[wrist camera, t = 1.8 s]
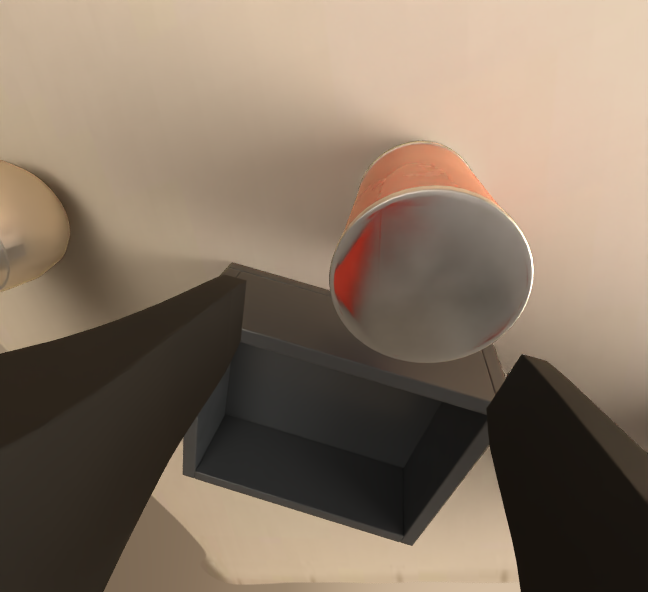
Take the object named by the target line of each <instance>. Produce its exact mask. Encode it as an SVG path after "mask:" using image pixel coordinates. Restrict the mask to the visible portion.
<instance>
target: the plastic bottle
mask: <svg viewBox="0 0 648 592" xmlns="http://www.w3.org/2000/svg"><path fill="white" fill-rule="evenodd" d="M69 237H70V225H69V220H68V217H67V214H66V212H65V209H64V208H63V206H62V204H61V202H60V201H59V199H58V198H57V197H56V195H55V194H54V193H53V191H52V190H51V189H50V188H49V187H48V186H47V185H46V184H45V183H44V182H43V181H41V180H40V179H39V178H38V177H36V176H35V175H33V174H32V173H30V172H28V171H27V170H25V169H22V168H20V167H18V166H15V165H13V164H10V163H8V162H5V161H3V160H0V292H2V291H5V290H8V289H11V288H14V287H16V286H19V285H21V284H24V283H26V282H29V281H32V280H34V279H36V278H39V277H40V276H41V275H43V274H44V273H45V272H46V271H48V270H49V269H50V268H51V267H52V266H54V265H55V264H56V263H57V262H58V261H59V260H61V259H62V257H63V256H64V254H65V252H66V249H67V245H68V241H69Z"/></svg>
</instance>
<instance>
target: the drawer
mask: <svg viewBox="0 0 648 592" xmlns="http://www.w3.org/2000/svg"><path fill="white" fill-rule="evenodd" d="M224 274H225V275H228V276H232V277H236V278H240V279H243V280H247V281H246V292H245V302H244V312H243V323H242V333H241V341H240V343H239V346H238V348H237V350H236V352H235V354H234V356H233V358H232V360H231V362H230V364H229V366H228V368H227V370H226V372H225V374H224V376H223V377H222V379H221V380H220V382H219V383H218V385H217V386H216V388H215V390H214V391H213V393H212V394H211V396H210V397H209V399H208V400H207V402H206V403H205V405H204V406H203V408H202V409H201V411H200V413H199V414H198V416H197V417H196V419H195V420H194V422H193V423H192V425H191V426H190V428H189V429H188V431H187V432H186V434H185V435H184V438H183V475H185V476H189V477H192V478H195V479H198V480H201V481H204V482H207V483H211V484H214V485H217V486H220V487H223V488H227V489H230V490H233V491H236V492H239V493H243V494H246V495H249V496H252V497H256V498H259V499H262V500H265V501H268V502H272V503H275V504H278V505H281V506H284V507H288V508H291V509H294V510H297V511H301V512H304V513H307V514H310V515H313V516H317V517H320V518H323V519H326V520H330V521H333V522H336V523H339V524H342V525H346V526H349V527H352V528H355V529H358V530H362V531H365V532H368V533H371V534H375V535H378V536H381V537H384V538H387V539H391V540H394V541H397V542H401V543H404V544H407V545H411V546H413V544H414V543H415V542H416V540H417V539H418V538H419V536H420V535H421V534H422V533H423V531H424V530H425V529H426V527H427V526H428V525H429V523H430V522H431V521H432V519H433V518H434V517H435V516H436V514H437V513H438V512H439V510H440V509H441V508H442V506H443V505H444V504H445V503H446V501H447V500H448V499H449V497H450V496H451V495H452V493H453V492H454V491H455V489H456V488H457V487H458V486H459V484H460V483H461V482H462V480H463V479H464V478H465V476H466V475H467V474H468V473H469V471H470V470H471V469H472V467H473V466H474V465H475V463H476V462H477V461H478V459H479V458H480V457H481V456H482V454H483V453H484V452H485V450H486V449H487V448H488V446H489V445H490V444H489V436H488V425H487V412H486V408H487V407H488V405H489V404H490V402H491V401H492V399H493V398H494V396H495V395H496V393H497V392H498V390H499V388H500V387H501V385H502V384H503V382H504V381H505V376H504V373H503V370H502V367H501V365H500V362H499V359H498V356H497V353H496V350H495V348H494V345H493V343H492V344H490V345H489V346H487V347H485V348H484V349H482V350H480V351H478V352H476V353H473V354H471V355H468V356H465V357H462V358H459V359H455V360H451V361H444V362H436V363H416V362H409V361H403V360H399V359H395V358H392V357H389V356H386V355H383V354H381V353H379V352H377V351H375V350H373V349H371V348H370V347H368V346H366V345H365V344H363V343H362V342H361V341H360V340H358V339H357V338H356V337H355V336H354V335H353V334H352V333H351V332H350V331H349V330H348V329H347V327H346V326H345V325H344V324H343V322H342V321H341V319H340V317H339V315H338V314H337V312H336V309H335V307H334V304H333V301H332V298H331V294H330V291H329V290H326V289H322V288H319V287H315V286H312V285H308V284H305V283H301V282H298V281H295V280H291V279H288V278H284V277H281V276H277V275H274V274H270V273H267V272H263V271H260V270H256V269H253V268H250V267H246V266H243V265H239V264H236V263H231V264H230V265H229V266H228V268H226V269H225V270H224V272H223V273H222V274H221V275H224ZM221 275H220V276H221Z"/></svg>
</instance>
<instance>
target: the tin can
mask: <svg viewBox="0 0 648 592" xmlns="http://www.w3.org/2000/svg"><path fill="white" fill-rule="evenodd" d="M532 283H533V260H532V255H531V251H530V248H529V245H528V242H527V240H526V238H525V236H524V234H523V233H522V231H521V230H520V228H519V227H518V226H517V224H516V223H515V222H514V220H513V219H512V218H511V217H510V216H509V215H508V214H507V213H506V212H505V211H504V210H503V209H502V208H501V207H499V205H498V204H497V203H496V202H495V200H494V199H493V198H492V196H491V195H490V194H489V193H488V191H487V190H486V189H485V188H484V186H483V185H482V184H481V183H480V181H479V180H478V179H477V178H476V176H475V175H474V174H473V173H472V171H471V169H470V167H469V166H468V164H467V163H466V162H465V160H464V159H463V158H462V157H461V156H460V155H459V154H457V153H456V152H455V151H453V150H452V149H450V148H448V147H446V146H444V145H441V144H438V143H434V142H429V141H415V142H408V143H404V144H401V145H398V146H395V147H393V148H392V149H390V150H388V151H386V152H385V153H383V154H382V155H381V156H379V157H378V158H377V159H376V160H375V161H374V162H373V163H372V164H371V166H370V167H369V168H368V170H367V171H366V173H365V174H364V176H363V178H362V180H361V183H360V186H359V189H358V193H357V197H356V200H355V203H354V205H353V208H352V211H351V213H350V216H349V219H348V222H347V224H346V227H345V230H344V233H343V234H342V236H341V238H340V240H339V242H338V244H337V246H336V249H335V252H334V255H333V258H332V261H331V266H330V273H329V286H330V294H331V298H332V301H333V304H334V307H335V309H336V312H337V314H338V315H339V317H340V319H341V321H342V322H343V324H344V325H345V326H346V327H347V329H348V330H349V331H350V332H351V333H352V334H353V335H354V336H355V337H356V338H357V339H358V340H360V341H361V342H362V343H363V344H365V345H366V346H368V347H370V348H371V349H373V350H375V351H377V352H379V353H381V354H383V355H386V356H389V357H392V358H395V359H399V360H403V361H409V362H416V363H436V362H444V361H451V360H455V359H459V358H462V357H465V356H468V355H471V354H473V353H476V352H478V351H480V350H482V349H484V348H485V347H487V346H489V345H490V344H492V343H493V342H495V341H496V340H497V339H499V338H500V337H501V336H502V335H503V334H505V333H506V332H507V331H508V330H509V329H510V327H511V326H512V325H513V324H514V323H515V322H516V320H517V319H518V317H519V316H520V315H521V313H522V311H523V309H524V307H525V306H526V303H527V301H528V298H529V295H530V293H531V288H532Z"/></svg>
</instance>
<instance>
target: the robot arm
mask: <svg viewBox="0 0 648 592" xmlns="http://www.w3.org/2000/svg"><path fill="white" fill-rule="evenodd" d="M246 281H247V280H243V279H240V278H236V277H232V276H228V275H225V274H224V275H221V276H219V277H217V278H214V279H212V280H210V281H208V282H205V283H203V284H201V285H199V286H197V287H195V288H192V289H190V290H188V291H186V292H184V293H181V294H179V295H177V296H175V297H173V298H170V299H168V300H166V301H164V302H161V303H159V304H157V305H154V306H152V307H149V308H147V309H144V310H141V311H139V312H136V313H134V314H131V315H129V316H126V317H124V318H121V319H119V320H116V321H113V322H111V323H108V324H105V325H102V326H99V327H96V328H93V329H90V330H87V331H83V332H80V333H77V334H74V335H70V336H67V337H64V338H61V339H57V340H53V341H50V342H46V343H42V344H38V345H34V346H30V347H26V348H22V349H18V350H14V351H10V352H5V353H2V354H0V592H103V591H104V589H105V587H106V585H107V583H108V581H109V579H110V576H111V574H112V573H113V570H114V568H115V566H116V564H117V562H118V560H119V558H120V556H121V554H122V551H123V549H124V548H125V546H126V543H127V541H128V540H129V537H130V536H131V533H132V531H133V529H134V528H135V526H136V524H137V521H138V520H139V518H140V516H141V514H142V512H143V509H144V508H145V506H146V504H147V502H148V500H149V498H150V496H151V494H152V492H153V490H154V488H155V486H156V485H157V483H158V481H159V479H160V477H161V475H162V473H163V471H164V469H165V467H166V466H167V464H168V462H169V460H170V458H171V457H172V455H173V453H174V452H175V450H176V448H177V446H178V445H179V443H180V442H181V440H182V439H183V437H184V435H185V434H186V432H187V431H188V429H189V428H190V426H191V425H192V423H193V422H194V420H195V419H196V417H197V416H198V414H199V413H200V411H201V409H202V408H203V406H204V405H205V403H206V402H207V400H208V399H209V397H210V396H211V394H212V393H213V391H214V390H215V388H216V386H217V385H218V383H219V382H220V380H221V379H222V377H223V376H224V374H225V372H226V370H227V368H228V366H229V364H230V362H231V360H232V358H233V356H234V354H235V352H236V350H237V348H238V346H239V343H240V341H241V333H242V323H243V312H244V302H245V292H246ZM486 412H487V425H488V436H489V444H490V450H491V454H492V459H493V463H494V467H495V472H496V476H497V480H498V484H499V488H500V492H501V497H502V501H503V505H504V509H505V513H506V517H507V521H508V525H509V529H510V533H511V537H512V542H513V547H514V552H515V557H516V562H517V568H518V575H519V582H520V589H521V592H648V453H647V452H646V451H645V450H643V449H642V448H641V447H640V446H639V445H638V444H637V443H636V442H635V441H634V440H632V439H631V438H630V437H629V436H628V435H627V434H626V433H625V432H624V431H623V430H622V429H621V428H619V427H618V426H617V425H616V424H615V423H614V422H613V421H612V420H611V419H610V418H609V417H608V416H607V415H606V414H605V413H604V412H602V411H601V410H600V409H599V408H598V407H597V406H596V405H595V404H594V403H593V402H592V401H591V400H590V399H589V398H588V397H587V396H586V395H585V394H583V393H582V392H581V391H580V390H579V389H578V388H577V387H576V386H575V385H574V384H573V383H572V382H571V381H570V380H568V379H567V378H566V377H565V376H564V375H563V374H562V373H561V372H560V371H558V370H557V369H556V368H555V367H554V366H552V365H551V364H550V363H548V362H547V361H545V360H541V359H538V358H534V357H530V356H527V355H523V354H522V355H521V356H520V358H519V359H518V361H517V363H516V364H515V366H514V367H513V369H512V370H511V372H510V373H509V375H508V376H507V378H506V379H505V381H504V382H503V384H502V385H501V387H500V388H499V390H498V392H497V393H496V395H495V396H494V398H493V399H492V401H491V402H490V404H489V405H488V407H487V408H486Z"/></svg>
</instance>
